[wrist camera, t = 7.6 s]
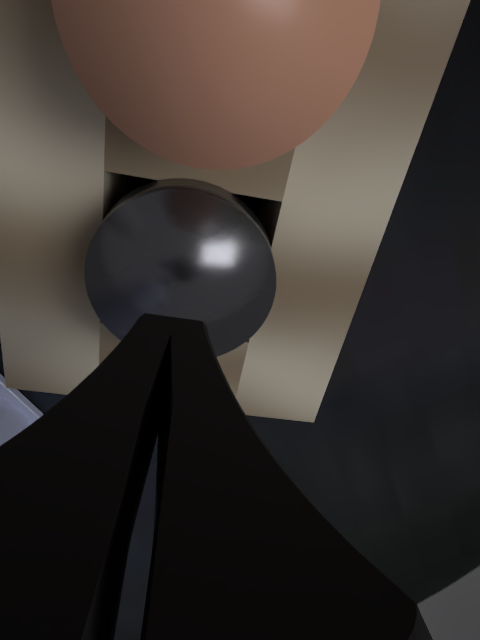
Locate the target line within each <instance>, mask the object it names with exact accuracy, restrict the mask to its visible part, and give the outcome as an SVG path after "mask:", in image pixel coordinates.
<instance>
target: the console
mask: <svg viewBox="0 0 480 640" xmlns="http://www.w3.org/2000/svg"><path fill="white" fill-rule="evenodd" d="M469 3H470V0H380V9H379V14H378V18H377V23H376V28H375V32H374V36H373V39H372V42H371V45H370V48H369V51H368V54H367V57H366V59H365V62H364V64H363V66H362V68H361V70H360V73H359V75H358V77H357V79H356V81H355V82H354V84H353V86H352V88H351V89H350V91H349V93H348V94H347V96H346V98H345V99H344V100H343V102H342V103H341V104H340V106H339V107H338V108H337V110H336V111H335V112H334V114H333V115H332V116H331V117H330V118H329V119H328V120H327V121H326V122H325V123H324V124H323V125H322V126H321V128H320V129H319V130H317V131H316V132H315V133H314V134H313V135H311V136H310V137H309V138H308V139H307V140H305V141H304V142H303V143H301V144H300V145H298V146H297V147H295V148H293V149H292V150H290V151H289V152H287V153H285V154H283V155H281V156H279V157H277V158H274V159H272V160H270V161H267V162H264V163H261V164H258V165H255V166H251V167H245V168H239V169H231V170H210V169H199V168H194V167H190V166H185V165H181V164H178V163H175V162H173V161H170V160H167V159H164V158H162V157H160V156H158V155H156V154H154V153H152V152H150V151H148V150H147V149H145V148H143V147H142V146H140V145H139V144H138V143H136V142H135V141H133V140H132V139H130V138H129V137H128V136H126V135H125V134H124V133H123V132H122V131H121V130H120V129H118V128H117V127H116V126H115V125H114V124H113V123H112V122H111V121H110V120H109V119H108V118H107V117H106V115H105V114H104V113H103V112H102V111H101V110H100V109H99V108H98V106H97V105H96V104H95V102H94V101H93V100H92V98H91V97H90V95H89V94H88V93H87V91H86V90H85V88H84V87H83V85H82V83H81V81H80V80H79V78H78V76H77V74H76V73H75V71H74V69H73V67H72V65H71V62H70V60H69V58H68V56H67V53H66V51H65V49H64V47H63V44H62V41H61V37H60V34H59V31H58V28H57V25H56V22H55V17H54V12H53V8H52V3H51V0H0V339H1V348H2V357H3V366H4V374H5V383H6V388H12V389H21V390H30V391H39V392H48V393H57V394H65V395H68V394H69V393H70V392H71V391H72V390H73V389H74V388H75V387H76V386H78V385H79V384H80V383H81V382H82V381H83V380H84V379H85V378H86V377H87V376H88V375H89V374H90V373H92V372H93V371H94V370H95V369H96V368H97V367H98V366H99V364H100V363H101V362H102V361H103V360H104V359H105V358H106V357H107V356H108V355H109V354H110V353H111V352H112V351H113V350H114V348H115V347H116V346H117V345H118V344H119V343H120V342H121V340H119V339H118V338H117V337H116V336H115V335H113V334H112V333H111V332H110V331H109V330H108V329H107V328H106V327H105V326H104V324H103V323H102V322H101V320H100V319H99V318H98V316H97V314H96V313H95V311H94V309H93V307H92V305H91V303H90V300H89V298H88V295H87V290H86V286H85V278H84V267H85V259H86V254H87V250H88V248H89V245H90V242H91V240H92V238H93V237H94V235H95V233H96V231H97V230H98V228H99V226H100V225H101V223H102V222H103V220H104V218H105V217H106V215H107V213H108V212H109V211H110V210H111V208H112V207H113V206H114V205H115V204H116V203H117V202H118V201H119V200H120V199H121V198H122V197H124V196H125V195H127V184H128V175H131V176H136V177H142V178H148V179H154V180H163V179H170V178H187V179H196V180H200V181H205V182H208V183H211V184H214V185H217V186H219V187H221V188H223V189H225V190H227V191H229V192H231V193H234V194H240V195H246V196H252V197H258V198H262V203H261V208H260V212H259V217H258V219H259V220H260V222H261V224H262V225H263V227H264V229H265V231H266V234H267V236H268V239H269V242H270V246H271V250H272V254H273V259H274V263H275V270H276V293H275V298H274V302H273V305H272V308H271V310H270V312H269V314H268V317H267V318H266V320H265V321H264V323H263V324H262V326H261V327H260V328H259V330H258V331H257V332H256V333H255V334H254V335H253V336H252V337H251V338H250V339H249V340H247V341H246V342H245V343H243V344H242V345H241V346H239V347H238V348H236V349H234V350H232V351H230V352H228V353H226V354H223V355H221V356H218V357H217V360H218V362H219V364H220V367H221V369H222V371H223V373H224V375H225V377H226V379H227V381H228V383H229V386H230V388H231V390H232V391H233V393H234V395H235V397H236V399H237V401H238V403H239V404H240V406H241V408H242V410H243V411H244V413H245V415H252V416H261V417H270V418H279V419H288V420H297V421H306V422H314V420H315V417H316V415H317V412H318V409H319V406H320V404H321V401H322V398H323V396H324V393H325V390H326V388H327V385H328V382H329V380H330V377H331V374H332V371H333V369H334V366H335V363H336V361H337V358H338V355H339V353H340V350H341V347H342V345H343V342H344V339H345V336H346V334H347V331H348V328H349V326H350V323H351V320H352V318H353V315H354V312H355V310H356V307H357V304H358V302H359V299H360V296H361V293H362V291H363V288H364V285H365V283H366V280H367V277H368V275H369V272H370V269H371V267H372V264H373V261H374V258H375V256H376V253H377V250H378V248H379V245H380V242H381V240H382V237H383V234H384V232H385V229H386V226H387V223H388V221H389V218H390V215H391V213H392V210H393V207H394V205H395V202H396V199H397V197H398V194H399V191H400V189H401V186H402V183H403V180H404V178H405V175H406V172H407V170H408V167H409V164H410V162H411V159H412V156H413V154H414V151H415V148H416V145H417V143H418V140H419V137H420V135H421V132H422V129H423V127H424V124H425V121H426V119H427V116H428V113H429V111H430V108H431V105H432V102H433V100H434V97H435V94H436V92H437V89H438V86H439V84H440V81H441V78H442V76H443V73H444V70H445V67H446V65H447V62H448V59H449V57H450V54H451V51H452V49H453V46H454V43H455V41H456V38H457V35H458V32H459V30H460V27H461V24H462V22H463V19H464V16H465V14H466V11H467V8H468V6H469Z"/></svg>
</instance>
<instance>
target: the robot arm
mask: <svg viewBox="0 0 480 640" xmlns="http://www.w3.org/2000/svg"><path fill="white" fill-rule="evenodd" d="M157 435H158V451H157V473H156V496H155V518H154V535H153V547H152V556H151V563H150V571H149V578H148V586H147V594H146V601H145V609H144V616H143V624H142V631H141V639H140V640H433V639H432V637H431V635H430V633H429V631H428V628H427V626H426V624H425V622H424V620H423V618H422V616H421V613H420V611H419V608H418V606H417V604H416V603H415V602H414V601H413V600H412V599H411V598H409V597H408V596H407V595H406V594H405V593H404V592H403V591H402V590H400V589H399V588H398V587H397V586H396V585H395V584H394V583H393V582H392V581H390V580H389V579H388V578H387V577H386V576H385V575H384V574H383V573H381V572H380V571H379V570H378V569H377V568H376V567H375V566H374V565H372V564H371V563H370V562H369V561H368V560H367V559H366V558H365V557H364V556H362V555H361V554H360V553H359V552H358V551H357V550H356V549H355V548H354V547H353V546H352V545H351V544H350V543H349V542H348V541H347V540H346V539H345V538H344V537H343V536H342V535H341V534H340V533H339V532H338V531H337V530H336V529H335V528H334V527H333V526H332V525H331V524H330V523H329V522H328V521H327V520H326V519H325V518H324V517H323V516H322V515H321V513H320V512H319V511H318V510H317V509H316V508H315V507H314V505H313V504H312V503H311V502H310V501H309V500H308V499H307V497H306V496H305V495H304V494H303V493H302V492H301V491H300V489H299V488H298V487H297V486H296V485H295V484H294V483H293V481H292V480H291V479H290V478H289V477H288V475H287V474H286V473H285V471H284V470H283V469H282V467H281V466H280V465H279V464H278V462H277V461H276V460H275V458H274V457H273V456H272V454H271V453H270V451H269V450H268V449H267V447H266V446H265V444H264V443H263V441H262V440H261V439H260V437H259V436H258V434H257V433H256V431H255V429H254V428H253V426H252V425H251V423H250V421H249V420H248V418H247V417H246V415H245V413H244V411H243V410H242V408H241V406H240V404H239V403H238V401H237V399H236V397H235V395H234V393H233V391H232V390H231V388H230V386H229V383H228V381H227V379H226V377H225V375H224V373H223V371H222V369H221V367H220V364H219V362H218V360H217V357H216V355H215V352H214V349H213V347H212V344H211V341H210V338H209V334H208V330H207V326H206V325H205V324H204V322H203V321H199V320H192V319H184V318H177V317H170V316H162V315H155V314H148V313H144V314H143V315H141V316H140V317H139V318H138V320H137V321H136V323H135V324H134V325H133V327H132V328H131V329H130V331H129V332H128V333H127V334H126V336H125V337H124V338H123V339H122V340H121V342H120V343H119V344H118V345H117V346H116V347H115V348H114V350H113V351H112V352H111V353H110V354H109V355H108V356H107V357H106V358H105V359H104V360H103V361H102V362H101V363H100V364H99V366H98V367H97V368H96V369H95V370H94V371H93V372H92V373H90V374H89V375H88V376H87V377H86V378H85V379H84V380H83V381H82V382H81V383H80V384H79V385H78V386H76V387H75V388H74V389H73V390H72V391H71V392H70V393H69V394H68V395H67V396H65V397H64V398H63V399H62V400H61V401H60V402H58V403H57V404H56V405H55V406H54V407H52V408H51V409H50V410H49V411H47V412H46V413H45V414H43V413H42V412H41V411H40V410H38V409H37V408H36V407H35V406H34V405H33V404H32V403H31V402H30V401H29V400H28V399H27V398H26V397H25V396H23V395H22V394H21V393H20V392H19V391H18V390H17V389H12V388H6V383H5V378H4V377H3V376H2V375H1V374H0V640H114V635H115V629H116V623H117V617H118V611H119V605H120V599H121V593H122V587H123V581H124V575H125V569H126V563H127V557H128V551H129V546H130V541H131V537H132V532H133V528H134V523H135V520H136V516H137V512H138V508H139V504H140V500H141V497H142V493H143V489H144V485H145V481H146V477H147V473H148V470H149V466H150V462H151V458H152V454H153V450H154V446H155V443H156V439H157Z"/></svg>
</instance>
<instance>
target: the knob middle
mask: <svg viewBox="0 0 480 640" xmlns="http://www.w3.org/2000/svg"><path fill="white" fill-rule="evenodd" d="M51 3H52V8H53V12H54V17H55V22H56V25H57V28H58V31H59V34H60V37H61V41H62V44H63V47H64V49H65V51H66V53H67V56H68V58H69V60H70V62H71V65H72V67H73V69H74V71H75V73H76V74H77V76H78V78H79V80H80V81H81V83H82V85H83V87H84V88H85V90H86V91H87V93H88V94H89V95H90V97H91V98H92V100H93V101H94V102H95V104H96V105H97V106H98V108H99V109H100V110H101V111H102V112H103V113H104V114H105V115H106V117H107V118H108V119H109V120H110V121H111V122H112V123H113V124H114V125H115V126H116V127H117V128H118V129H120V130H121V131H122V132H123V133H124V134H125V135H126V136H128V137H129V138H130V139H132V140H133V141H135V142H136V143H138V144H139V145H140V146H142V147H143V148H145V149H147V150H148V151H150V152H152V153H154V154H156V155H158V156H160V157H162V158H164V159H167V160H170V161H173V162H175V163H178V164H181V165H185V166H190V167H194V168H199V169H210V170H231V169H239V168H245V167H251V166H255V165H258V164H261V163H264V162H267V161H270V160H272V159H274V158H277V157H279V156H281V155H283V154H285V153H287V152H289V151H290V150H292V149H293V148H295V147H297V146H298V145H300V144H301V143H303V142H304V141H305V140H307V139H308V138H309V137H310V136H311V135H313V134H314V133H315V132H316V131H317V130H319V129H320V128H321V126H322V125H323V124H324V123H325V122H326V121H327V120H328V119H329V118H330V117H331V116H332V115H333V114H334V112H335V111H336V110H337V108H338V107H339V106H340V104H341V103H342V102H343V100H344V99H345V98H346V96H347V94H348V93H349V91H350V89H351V88H352V86H353V84H354V82H355V81H356V79H357V77H358V75H359V73H360V70H361V68H362V66H363V64H364V62H365V59H366V57H367V54H368V51H369V48H370V45H371V42H372V39H373V36H374V32H375V28H376V23H377V18H378V14H379V9H380V0H51Z"/></svg>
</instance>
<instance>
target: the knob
mask: <svg viewBox="0 0 480 640" xmlns="http://www.w3.org/2000/svg"><path fill="white" fill-rule="evenodd" d="M84 278H85V286H86V290H87V295H88V298H89V300H90V303H91V305H92V307H93V309H94V311H95V313H96V314H97V316H98V318H99V319H100V320H101V322H102V323H103V324H104V326H105V327H106V328H107V329H108V330H109V331H110V332H111V333H112V334H113V335H115V336H116V337H117V338H118V339H119V340H122V339H123V338H124V337H125V336H126V334H127V333H128V332H129V331H130V329H131V328H132V327H133V325H134V324H135V323H136V321H137V320H138V318H139V317H140V316H141V315H143V314H144V313H148V314H155V315H162V316H170V317H177V318H184V319H192V320H199V321H203V322H204V324H205V325H206V326H207V330H208V334H209V338H210V341H211V344H212V347H213V349H214V352H215V355H216V357H218V356H221V355H223V354H226V353H228V352H230V351H232V350H234V349H236V348H238V347H239V346H241V345H242V344H243V343H245V342H246V341H247V340H249V339H250V338H251V337H252V336H253V335H254V334H255V333H256V332H257V331H258V330H259V328H260V327H261V326H262V324H263V323H264V321H265V320H266V318H267V317H268V314H269V312H270V310H271V308H272V305H273V302H274V298H275V293H276V270H275V263H274V259H273V254H272V250H271V246H270V242H269V239H268V236H267V234H266V231H265V229H264V227H263V225H262V224H261V222H260V220H259V219H258V217H257V216H256V215H255V213H254V212H253V211H252V210H251V209H250V207H248V206H247V205H246V204H245V203H244V202H243V201H242V200H241V199H240V198H239V196H238V195H237V194H234V193H231V192H229V191H227V190H225V189H223V188H221V187H219V186H217V185H214V184H211V183H208V182H205V181H200V180H196V179H187V178H170V179H163V180H153V181H152V182H151V183H148V184H145V185H142V186H140V187H138V188H136V189H134V190H132V191H131V192H129V193H128V194H127V195H125V196H124V197H122V198H121V199H120V200H119V201H118V202H117V203H116V204H115V205H114V206H113V207H112V208H111V210H110V211H109V212H108V213H107V215H106V217H105V218H104V220H103V222H102V223H101V225H100V226H99V228H98V230H97V231H96V233H95V235H94V237H93V238H92V240H91V242H90V245H89V248H88V250H87V254H86V259H85V267H84Z"/></svg>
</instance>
